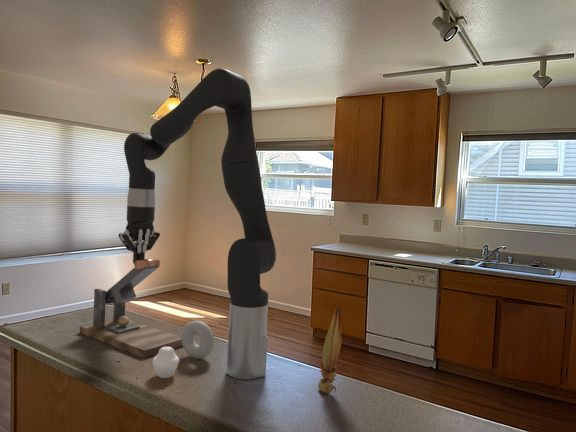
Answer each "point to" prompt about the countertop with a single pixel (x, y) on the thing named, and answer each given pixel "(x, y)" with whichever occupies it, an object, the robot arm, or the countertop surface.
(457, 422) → the countertop surface
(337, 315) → the tan tall pointed piece
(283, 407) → the countertop surface
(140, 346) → the cracker base
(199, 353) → the donut
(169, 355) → the white rounded bulbous piece
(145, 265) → the lever
